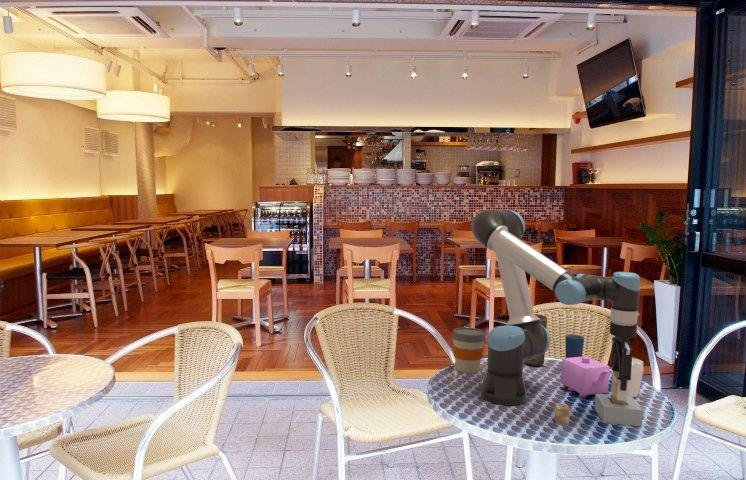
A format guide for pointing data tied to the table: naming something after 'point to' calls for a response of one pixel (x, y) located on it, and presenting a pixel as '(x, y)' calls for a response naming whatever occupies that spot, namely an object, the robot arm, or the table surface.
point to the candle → (541, 359)
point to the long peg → (615, 390)
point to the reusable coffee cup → (468, 348)
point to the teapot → (585, 376)
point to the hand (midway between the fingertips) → (618, 395)
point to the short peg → (562, 414)
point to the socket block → (618, 411)
